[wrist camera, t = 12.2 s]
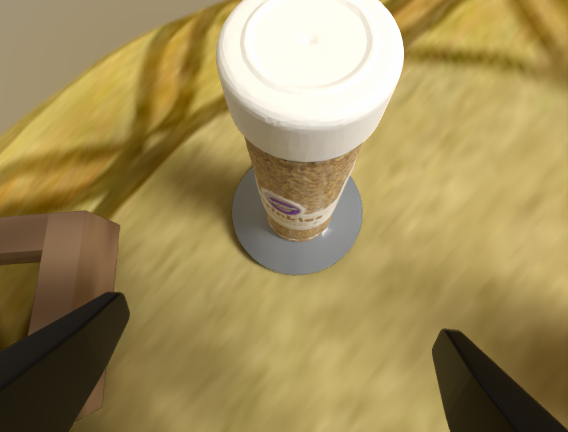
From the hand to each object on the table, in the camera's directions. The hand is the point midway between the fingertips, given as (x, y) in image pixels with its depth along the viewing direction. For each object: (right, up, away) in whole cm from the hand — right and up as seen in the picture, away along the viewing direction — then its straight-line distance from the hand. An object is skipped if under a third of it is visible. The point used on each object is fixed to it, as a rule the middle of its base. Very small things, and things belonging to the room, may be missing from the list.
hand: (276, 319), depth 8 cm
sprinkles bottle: (+1, +3, +12) cm, 12 cm away
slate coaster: (+1, +3, +12) cm, 13 cm away
